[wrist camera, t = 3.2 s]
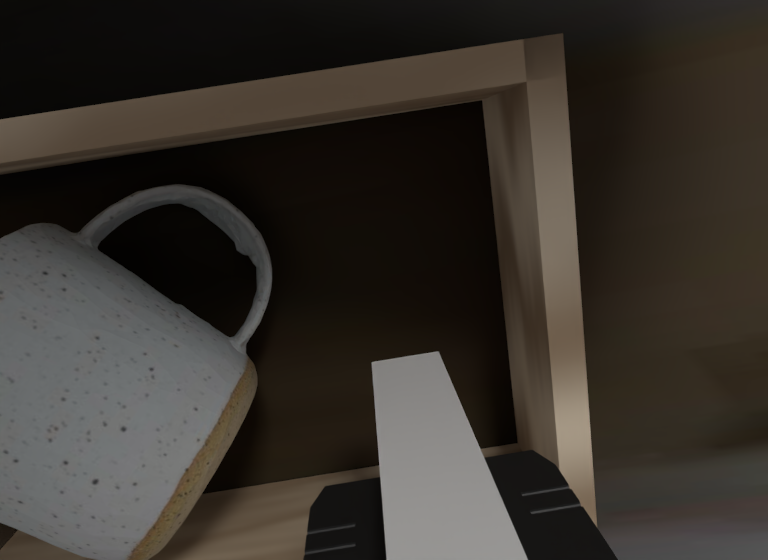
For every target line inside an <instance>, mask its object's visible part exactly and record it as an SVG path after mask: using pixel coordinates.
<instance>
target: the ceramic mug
mask: <svg viewBox="0 0 768 560" xmlns="http://www.w3.org/2000/svg"><path fill="white" fill-rule="evenodd" d="M176 203H179V204H183V205H185V206H187V207H190V208H194V209H196V210H198V211H199V212H200V213H201V214H202V215H204V216H205V217H206V218H208V219H209V220H210V221H212V222H213V223H214V224H215V225H217V226H218V227H219V228H220V229H222V230H223V231H224V232H225V233H226V234H227V235H228V236H229V237H230V238H231V239H232V240H233V241H234V242H235V246H236V250H237V251H239V252H240V253H242V254H243V255H248V256H249V258H250V259H251V261H252V263H253V264H254V265H255V266H256V280H257V290H256V294H255V297H254V299H253V304H252V307H251V309H250V312H249V314H248V316H247V318H246V320H245V323H244V324H243V325H242V327H241V328H240V329H239V331H238V332H237V333H236V335H235V336H233V337H228V336H226V335H224V334H223V333H221V332H220V331H218V330H217V329H215V328H214V327H212V326H211V325H210V324H209V323H208V322H206V321H204V320H202V319H201V318H199V317H198V316H196V315H195V314H193V313H192V312H191V311H189V310H188V309H186V308H185V307H184V306H183V305H180V304H176V303H174V302H173V301H171V300H170V299H168V298H167V297H165V296H164V295H162V294H161V293H159V292H158V291H157V290H156V289H154V288H153V287H152V286H150V285H149V284H147V283H146V282H145V281H143V280H142V279H141V278H140V277H138V276H137V275H135V274H134V273H132V272H131V271H129V270H127V269H125V268H124V267H123V266H122V265H120V264H118V263H117V262H115V261H114V260H112V259H111V258H109V257H108V256H107V255H105V254H103V253H102V252H100V251H99V250H98V245H99V243H100V242H101V241H102V240H103V239H104V238H105V237H106V236H107V235H108V234H109V233H110V232H112V231H113V230H114V229H115V228H117V227H118V226H119V225H120V224H122V223H123V222H125V221H126V220H128V219H130V218H132V217H134V216H136V215H137V214H139V213H141V212H143V211H145V210H148V209H150V208H154V207H157V206H161V205H164V204H176ZM271 287H272V265H271V260H270V254H269V252H268V249H267V247H266V244H265V242H264V240H263V237H262V235H261V233H260V232H259V231H258V230H257V229H256V228H255V226H254V224H253V223H252V222H251V221H250V220H249V219H248V218H247V217H246V216H245V215H244V214H243V213H242V211H240V210H239V209H238V208H237V207H235V206H234V205H233V204H231V203H230V202H229V201H228V200H226V199H225V198H223V197H221V196H219V195H217V194H215V193H213V192H211V191H209V190H206V189H204V188H202V187H195V186H189V185H182V184H172V185H164V186H159V187H154V188H149V189H146V190H143V191H137V192H135V193H133V194H131V195H129V196H127V197H126V198H124V199H122V200H120V201H118V202H116V203H115V204H113V205H111V206H109V207H108V208H106V209H105V210H104V211H102V212H101V213H100V214H98V215H97V216H96V217H95V218H93V219H92V220H91V221H90V222H89V223H87V224H86V225H85V226H84V227H83V228H82V229H81V231H80V232H78V233H72V232H70V231H68V230H67V229H65V228H63V227H61V226H59V225H56V224H52V223H38V224H31V225H28V226H26V227H24V228H22V229H19V230H17V231H15V232H13V233H11V234H8V235H6V236H4V237H2V238H1V239H0V523H2V524H5V525H8V526H10V527H13V528H15V529H18V530H20V531H22V532H25V533H27V534H29V535H31V536H34V537H36V538H38V539H40V540H43V541H45V542H47V543H49V544H52V545H54V546H57V547H59V548H62V549H64V550H67V551H69V552H72V553H74V554H77V555H79V556H82V557H87V558H91V559H96V560H148V559H150V558H151V557H153V556H154V555H156V554H157V553H159V552H160V551H161V550H162V549H163V548H164V547H165V546H166V544H167V543H168V542H169V540H170V539H171V538H172V537H173V535H174V534H175V533H176V531H177V530H178V529H179V528H180V526H181V525H182V524H183V522H184V521H185V519H186V518H187V516H188V515H189V513H190V512H191V510H192V509H193V507H194V505H195V504H196V502H197V501H198V499H199V498H200V496H201V494H202V493H203V491H204V490H205V488H206V486H207V485H208V483H209V481H210V480H211V478H212V476H213V475H214V473H215V472H216V470H217V468H218V466H219V465H220V463H221V461H222V459H223V458H224V456H225V454H226V452H227V451H228V449H229V447H230V446H231V444H232V442H233V440H234V438H235V436H236V434H237V432H238V430H239V428H240V427H241V425H242V423H243V421H244V419H245V417H246V414H247V412H248V410H249V408H250V405H251V403H252V401H253V398H254V396H255V393H256V389H257V385H258V376H257V372H256V369H255V365H254V363H253V362H252V360H251V359H250V358H249V357H248V355H247V354H246V344H247V342H248V340H249V339H250V337H251V336H252V335H253V333H254V332H255V330H256V328H257V327H258V325H259V324H260V322H261V319H262V317H263V314H264V312H265V310H266V307H267V304H268V301H269V297H270V292H271Z"/></svg>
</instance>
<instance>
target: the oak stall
mask: <svg viewBox="0 0 768 560" xmlns="http://www.w3.org/2000/svg"><path fill="white" fill-rule="evenodd" d="M480 100H482V104H483V114H484V123H485V133H486V142H487V152H488V162H489V171H490V181H491V191H492V200H493V210H494V219H495V229H496V239H497V248H498V258H499V268H500V277H501V287H502V296H503V306H504V316H505V325H506V335H507V345H508V354H509V364H510V373H511V383H512V393H513V402H514V412H515V421H516V431H517V441H518V443H514V444H508V445H502V446H496V447H490V448H483V449H481V452H482V454H483V456H484V458H485V457H491V456H497V455H503V454H509V453H515V452H521V451H527V450H534V451H535V452H537V453H538V454H540V455H542V456H543V457H545V458H546V459H548V460H549V461H551V462H553V463H554V464H556V466H557V467H558V469H559V470H560V472H561V474H562V475H563V477H564V478H565V480H566V481H567V483H568V484H569V488H570V489H572V490H573V492H574V493H575V495H576V496H577V498H578V499H579V501H580V504H581V507H584V509H585V510H586V512H587V513H588V515H589V516H590V518H591V519H592V521H593V522H594V524H595V525H596V527H597V519H596V504H595V490H594V475H593V461H592V446H591V432H590V417H589V403H588V388H587V374H586V359H585V345H584V330H583V316H582V301H581V287H580V272H579V258H578V243H577V229H576V215H575V200H574V186H573V171H572V157H571V142H570V128H569V113H568V99H567V84H566V70H565V55H564V41H563V33H560V34H554V35H547V36H541V37H534V38H528V39H521V40H515V41H508V42H502V43H495V44H489V45H482V46H476V47H469V48H463V49H456V50H450V51H443V52H437V53H430V54H424V55H417V56H410V57H404V58H397V59H391V60H384V61H378V62H371V63H365V64H358V65H352V66H345V67H339V68H332V69H326V70H319V71H313V72H306V73H300V74H293V75H287V76H280V77H274V78H267V79H261V80H254V81H247V82H241V83H234V84H228V85H221V86H215V87H208V88H202V89H195V90H189V91H182V92H176V93H169V94H163V95H156V96H150V97H143V98H137V99H130V100H124V101H117V102H111V103H104V104H98V105H91V106H84V107H78V108H71V109H65V110H58V111H52V112H45V113H39V114H32V115H26V116H19V117H13V118H6V119H0V175H2V174H8V173H14V172H21V171H27V170H34V169H40V168H47V167H53V166H60V165H66V164H73V163H79V162H86V161H92V160H99V159H105V158H111V157H118V156H124V155H131V154H137V153H144V152H150V151H157V150H163V149H170V148H176V147H183V146H189V145H196V144H202V143H209V142H215V141H221V140H228V139H234V138H241V137H247V136H254V135H260V134H267V133H273V132H280V131H286V130H293V129H299V128H306V127H312V126H318V125H325V124H331V123H338V122H344V121H351V120H357V119H364V118H370V117H377V116H383V115H390V114H396V113H403V112H409V111H415V110H422V109H428V108H435V107H441V106H448V105H454V104H461V103H467V102H474V101H480ZM377 477H380V467H379V466H373V467H366V468H360V469H354V470H348V471H342V472H336V473H329V474H323V475H317V476H311V477H305V478H299V479H293V480H286V481H280V482H274V483H268V484H262V485H256V486H249V487H243V488H237V489H231V490H225V491H219V492H212V493H206V494H201V496H200V498H199V499H198V501H197V502H196V504H195V505H194V507H193V509H192V510H191V512H190V513H189V515H188V516H187V518H186V519H185V521H184V522H183V524H182V525H181V526H180V528H179V529H178V530H177V531H176V533H175V534H174V535H173V537H172V538H171V539H170V540H169V542H168V543H167V544H166V546H165V547H164V548H163V549H162V550H161V551H160V552H159V553H157V554H156V555H154V556H153V557H151V558H150V559H148V560H303V558H304V556H305V551H304V550H305V542H306V535H307V527H308V520H309V512H310V507H311V505H312V504H313V503H314V501H315V500H316V498H317V497H318V495H319V494H320V493H321V491H322V490H323V488H324V487H325V486H329V485H335V484H341V483H347V482H353V481H359V480H365V479H371V478H377ZM0 560H96V559H91V558H87V557H82V556H79V555H77V554H74V553H72V552H69V551H67V550H64V549H62V548H59V547H57V546H54V545H52V544H49V543H47V542H45V541H43V540H40V539H38V538H36V537H34V536H31V535H29V534H27V533H25V532H22V531H20V530H18V531H17V532H16V533H15V534H14V535H13V536H12V537H11V538H10V540H9V541H8V542H7V543H6V544H5V545H4V546H3V547H2V548H1V550H0Z"/></svg>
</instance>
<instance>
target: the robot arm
mask: <svg viewBox="0 0 768 560" xmlns="http://www.w3.org/2000/svg"><path fill="white" fill-rule="evenodd" d="M372 375H373V388H374V401H375V414H376V427H377V441H378V454H379V467H380V477H377V478H371V479H365V480H359V481H353V482H347V483H341V484H335V485H329V486H325V487H324V488H323V490H322V491H321V493H320V494H319V495H318V497H317V498H316V500H315V501H314V503H313V504H312V505H311V507H310V512H309V520H308V527H307V535H306V542H305V550H304V551H305V556H304V558H303V560H618V559H617V558H616V556H615V555H614V553H613V551H612V550H611V548H610V547H609V545H608V544H607V542H606V541H605V539H604V538H603V536H602V535H601V533H600V532H599V530H598V529H597V527H596V525H595V524H594V522H593V521H592V519H591V518H590V516H589V515H588V513H587V512H586V510H585V509H584V507H581V504H580V501H579V499H578V498H577V496H576V495H575V493H574V492H573V490H572V489H570V488H569V484H568V483H567V481H566V480H565V478H564V477H563V475H562V474H561V472H560V470H559V469H558V467H557V466H556V464H554V463H553V462H551V461H549V460H548V459H546V458H545V457H543V456H542V455H540V454H538V453H537V452H535V451H534V450H527V451H521V452H515V453H509V454H503V455H497V456H491V457H485V458H484V456H483V454H482V452H481V449H480V447H479V445H478V442H477V440H476V438H475V435H474V433H473V431H472V428H471V426H470V424H469V421H468V419H467V417H466V414H465V412H464V410H463V407H462V405H461V403H460V400H459V398H458V396H457V393H456V391H455V389H454V386H453V384H452V382H451V379H450V377H449V375H448V372H447V370H446V368H445V365H444V363H443V361H442V358H441V356H440V354H439V351H437V352H431V353H425V354H419V355H412V356H406V357H400V358H394V359H388V360H381V361H375V362H372Z"/></svg>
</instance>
